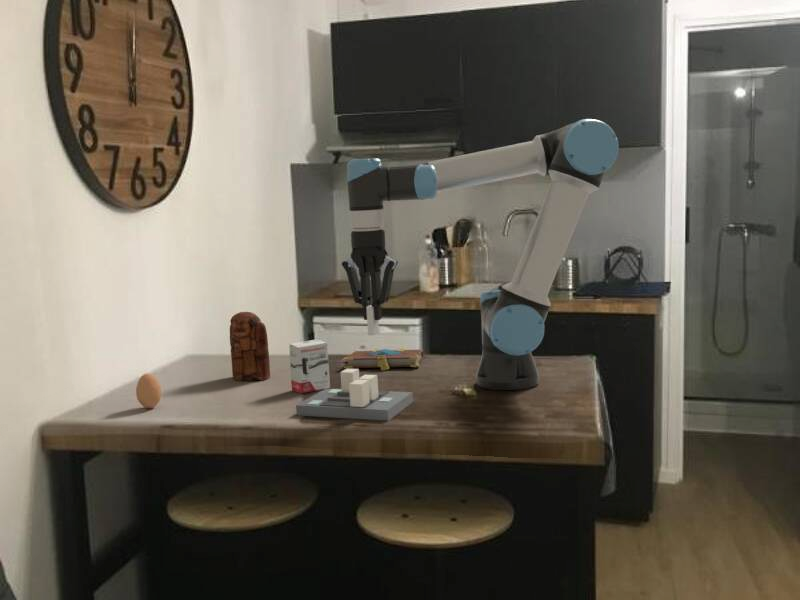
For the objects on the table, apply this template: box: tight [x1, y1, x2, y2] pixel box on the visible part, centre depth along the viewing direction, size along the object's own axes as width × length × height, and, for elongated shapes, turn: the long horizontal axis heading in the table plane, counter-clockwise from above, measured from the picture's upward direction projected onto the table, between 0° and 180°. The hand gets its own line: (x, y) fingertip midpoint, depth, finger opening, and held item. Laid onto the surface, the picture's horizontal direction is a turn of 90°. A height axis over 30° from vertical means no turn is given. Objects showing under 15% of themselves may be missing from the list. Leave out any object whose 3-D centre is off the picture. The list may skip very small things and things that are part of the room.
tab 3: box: [359, 374, 379, 399], centre depth 189 cm, size 3×4×5 cm
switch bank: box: [295, 388, 414, 422], centre depth 191 cm, size 22×15×3 cm
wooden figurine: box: [229, 311, 271, 382], centre depth 225 cm, size 12×6×18 cm, turn 73°
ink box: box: [288, 339, 331, 394], centre depth 211 cm, size 8×5×12 cm, turn 123°
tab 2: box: [349, 380, 370, 407], centre depth 184 cm, size 3×4×5 cm
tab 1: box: [340, 368, 360, 392], centre depth 196 cm, size 3×4×5 cm
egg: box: [135, 373, 162, 409], centre depth 201 cm, size 6×6×8 cm
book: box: [338, 348, 424, 371], centre depth 235 cm, size 16×25×5 cm, turn 82°
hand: (373, 334), depth 190 cm, fingers closed
